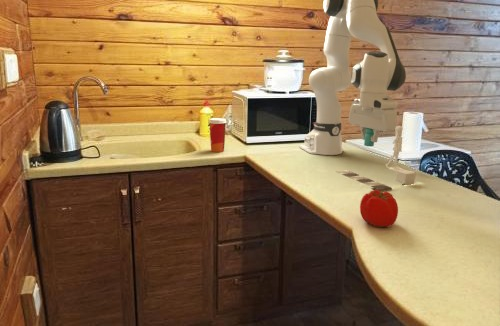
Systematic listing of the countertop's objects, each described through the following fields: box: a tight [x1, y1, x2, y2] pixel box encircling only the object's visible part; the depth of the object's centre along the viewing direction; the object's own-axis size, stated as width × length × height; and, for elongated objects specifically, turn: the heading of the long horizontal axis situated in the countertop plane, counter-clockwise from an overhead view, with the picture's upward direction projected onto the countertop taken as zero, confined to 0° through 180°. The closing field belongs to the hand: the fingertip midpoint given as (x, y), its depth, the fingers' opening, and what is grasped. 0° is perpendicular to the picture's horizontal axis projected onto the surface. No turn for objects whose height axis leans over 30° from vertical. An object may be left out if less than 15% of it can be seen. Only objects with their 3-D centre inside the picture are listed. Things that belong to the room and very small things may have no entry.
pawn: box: [363, 128, 375, 147], centre depth 142 cm, size 3×3×7 cm
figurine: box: [385, 125, 405, 172], centre depth 161 cm, size 8×8×18 cm
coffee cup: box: [208, 117, 227, 153], centre depth 190 cm, size 8×8×15 cm
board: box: [335, 169, 393, 192], centre depth 148 cm, size 24×6×1 cm, turn 25°
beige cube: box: [395, 169, 416, 186], centre depth 146 cm, size 4×4×4 cm
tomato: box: [359, 190, 399, 228], centre depth 109 cm, size 11×11×9 cm
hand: (369, 140), depth 143 cm, fingers closed on pawn, 3 cm apart
